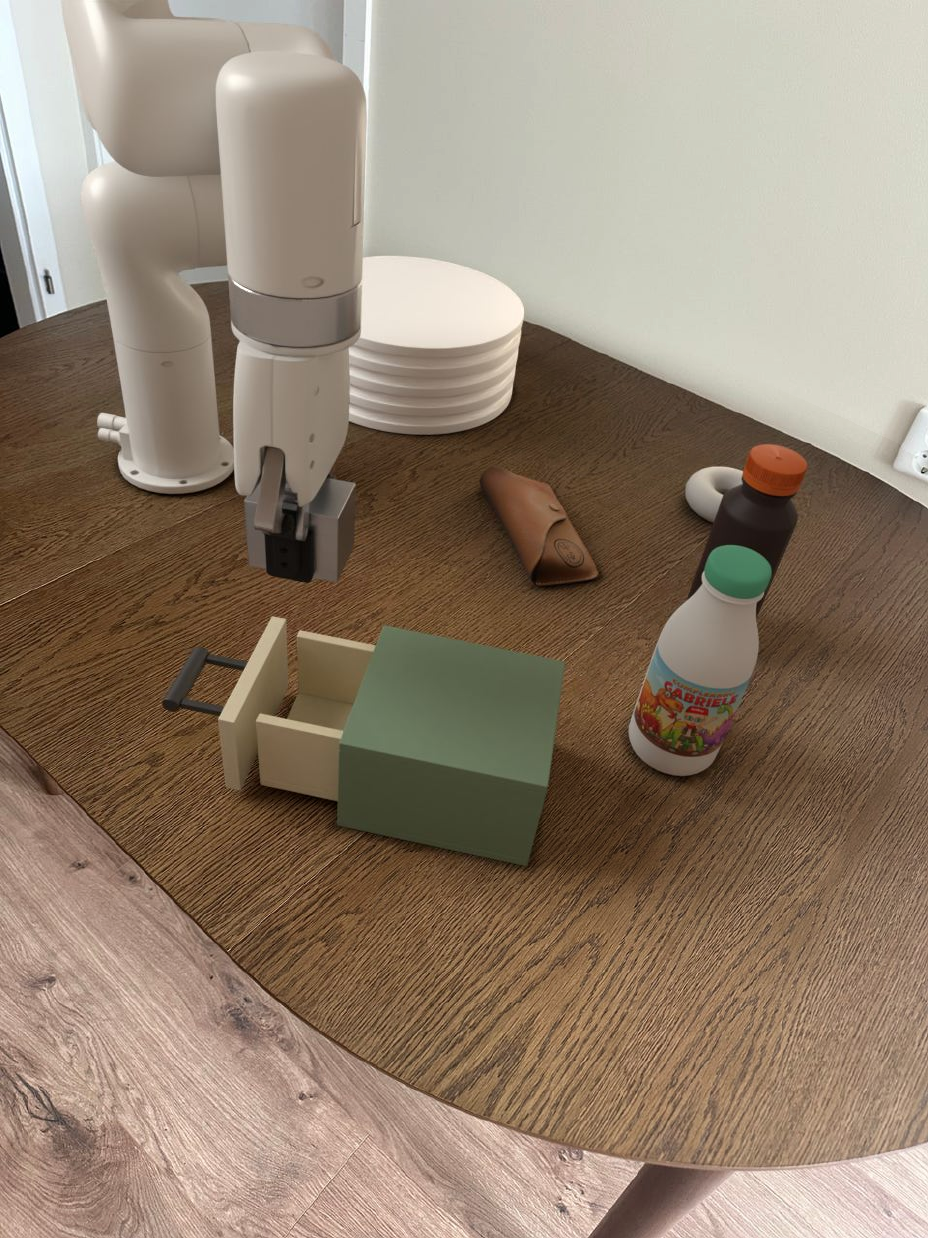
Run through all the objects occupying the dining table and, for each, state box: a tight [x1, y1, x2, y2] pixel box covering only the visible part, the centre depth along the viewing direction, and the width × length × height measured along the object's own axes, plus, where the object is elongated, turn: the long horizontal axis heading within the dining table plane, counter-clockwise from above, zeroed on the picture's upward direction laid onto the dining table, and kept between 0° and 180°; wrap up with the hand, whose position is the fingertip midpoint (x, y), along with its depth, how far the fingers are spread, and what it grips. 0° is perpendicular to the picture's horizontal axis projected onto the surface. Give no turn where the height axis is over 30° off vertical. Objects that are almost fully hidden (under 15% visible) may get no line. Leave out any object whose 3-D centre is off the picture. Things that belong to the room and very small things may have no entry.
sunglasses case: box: [479, 464, 600, 587], centre depth 99 cm, size 18×7×7 cm
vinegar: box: [685, 443, 809, 620], centre depth 84 cm, size 7×7×20 cm
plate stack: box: [349, 255, 525, 436], centre depth 119 cm, size 28×28×12 cm
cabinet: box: [336, 625, 566, 867], centre depth 70 cm, size 15×13×10 cm
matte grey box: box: [243, 478, 357, 584], centre depth 63 cm, size 6×4×6 cm
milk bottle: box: [628, 545, 772, 777], centre depth 72 cm, size 8×8×20 cm
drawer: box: [161, 615, 376, 802], centre depth 71 cm, size 19×11×8 cm, turn 80°
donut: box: [684, 466, 743, 524], centre depth 106 cm, size 10×4×10 cm
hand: (301, 552), depth 65 cm, fingers closed on matte grey box, 4 cm apart
